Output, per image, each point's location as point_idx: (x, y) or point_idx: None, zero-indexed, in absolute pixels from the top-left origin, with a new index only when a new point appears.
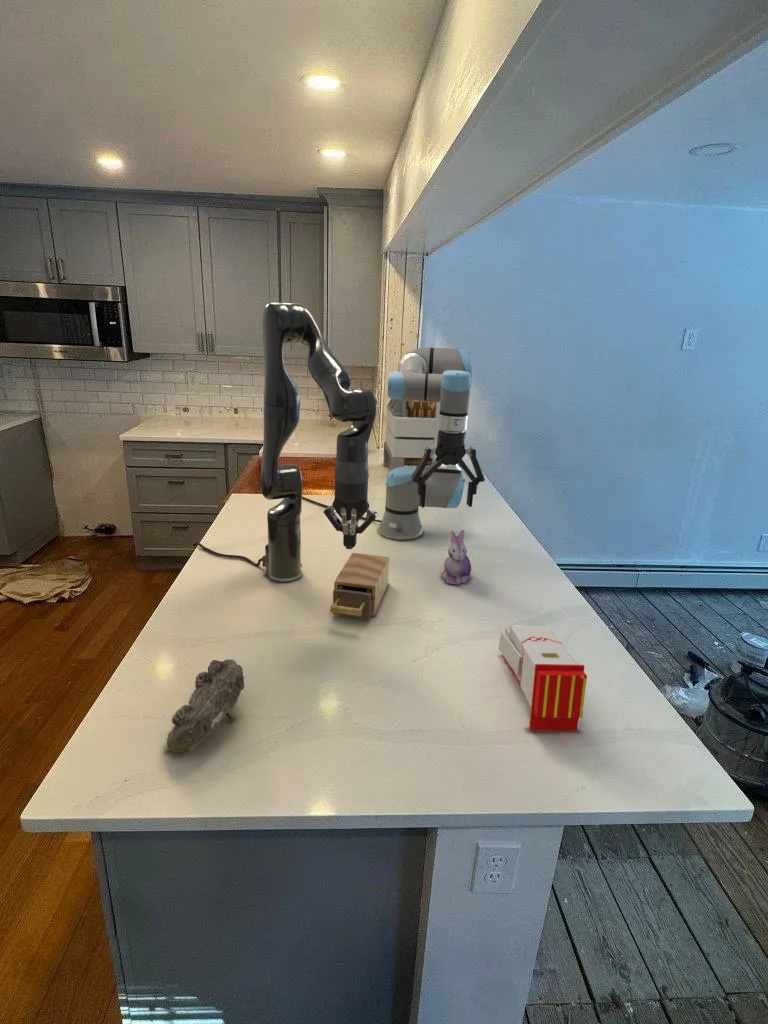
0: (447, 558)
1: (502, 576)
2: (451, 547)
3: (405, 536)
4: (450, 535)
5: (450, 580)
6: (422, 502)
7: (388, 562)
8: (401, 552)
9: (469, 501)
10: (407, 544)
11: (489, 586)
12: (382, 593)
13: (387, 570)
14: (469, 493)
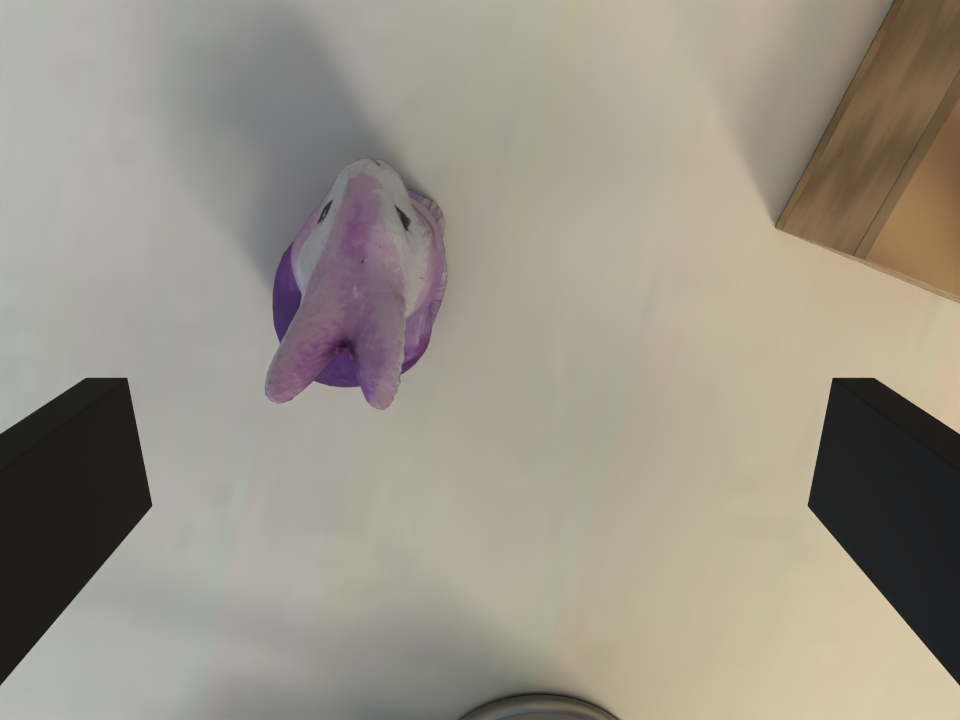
0: (413, 340)
1: (102, 270)
2: (412, 258)
3: (538, 710)
4: (402, 347)
5: (423, 205)
6: (919, 413)
7: (863, 228)
8: (591, 575)
9: (84, 428)
10: (536, 654)
11: (203, 152)
12: (875, 61)
13: (849, 200)
14: (6, 541)
